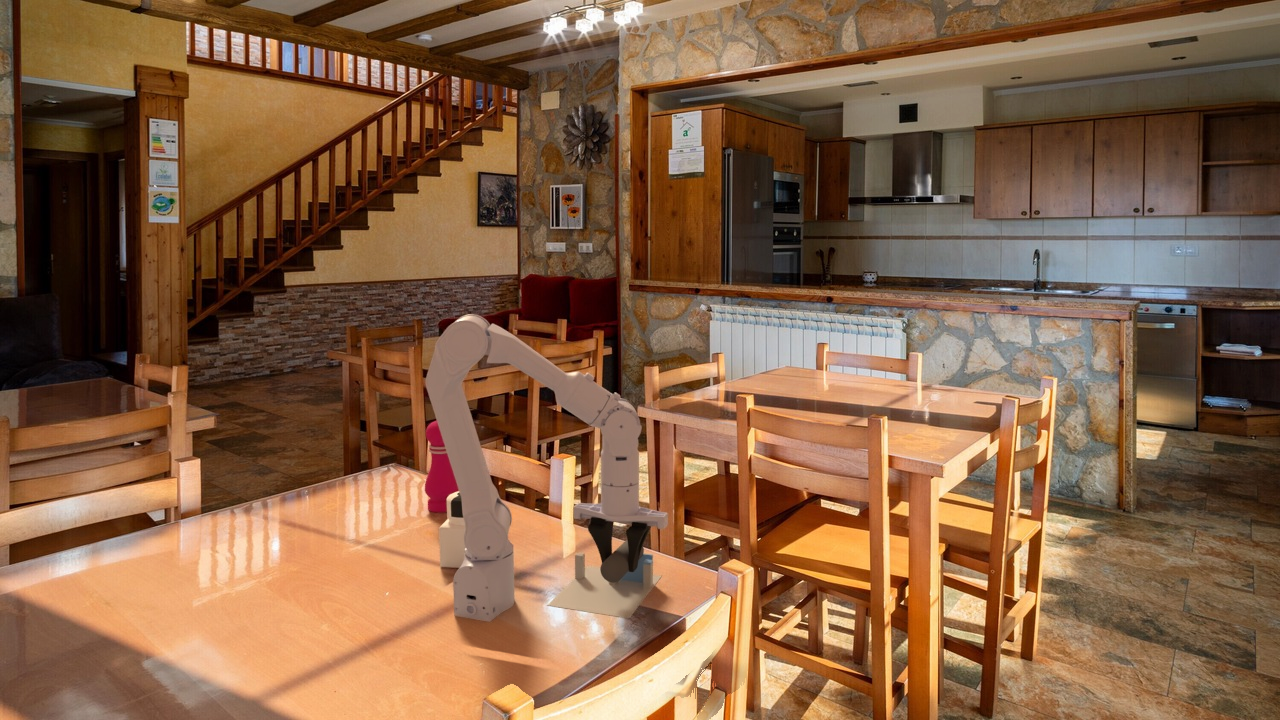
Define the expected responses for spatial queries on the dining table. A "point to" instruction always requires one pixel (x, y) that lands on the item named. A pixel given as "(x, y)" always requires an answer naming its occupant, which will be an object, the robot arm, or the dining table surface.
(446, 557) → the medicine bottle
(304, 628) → the dining table surface
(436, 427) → the pepper mill
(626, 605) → the base plate with posts
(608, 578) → the dark brown cylinder post
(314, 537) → the dining table surface
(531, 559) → the dining table surface
